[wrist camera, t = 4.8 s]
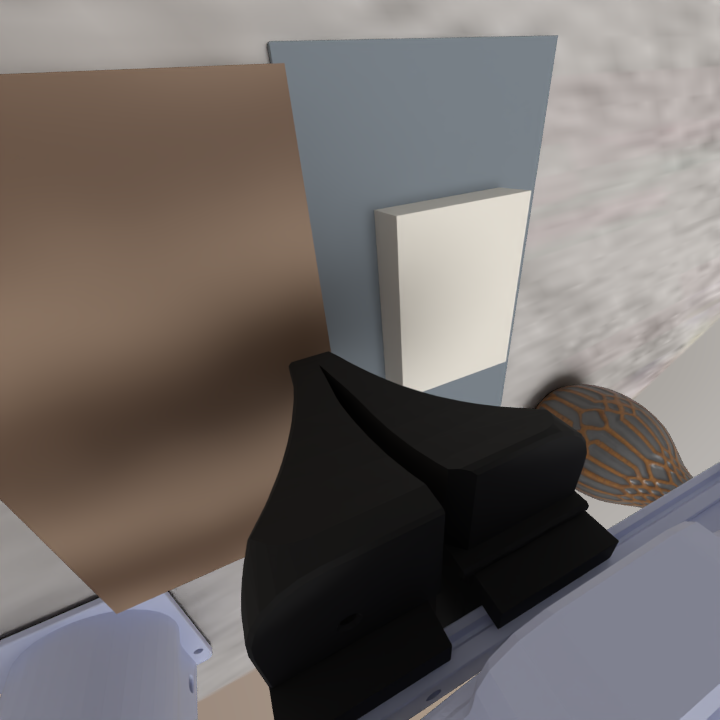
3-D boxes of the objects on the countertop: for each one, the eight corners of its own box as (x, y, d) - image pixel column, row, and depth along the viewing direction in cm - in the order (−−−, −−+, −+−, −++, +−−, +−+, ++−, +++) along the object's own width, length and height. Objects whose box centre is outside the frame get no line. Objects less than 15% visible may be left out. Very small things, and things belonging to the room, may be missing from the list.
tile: (403, 398, 16) (385, 379, 18) (505, 361, 18) (482, 346, 19) (396, 216, 12) (374, 209, 13) (531, 190, 14) (498, 187, 15)
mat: (497, 402, 23) (500, 405, 23) (342, 465, 20) (343, 469, 20) (551, 37, 13) (557, 35, 13) (267, 44, 10) (269, 41, 10)
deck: (331, 456, 19) (356, 507, 16) (128, 535, 16) (116, 614, 13) (258, 88, 11) (284, 62, 8) (-198, 115, 8) (-416, 90, 5)
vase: (571, 431, 29) (693, 517, 22) (506, 457, 27) (619, 562, 20) (597, 360, 26) (752, 435, 19) (525, 383, 23) (671, 478, 16)
